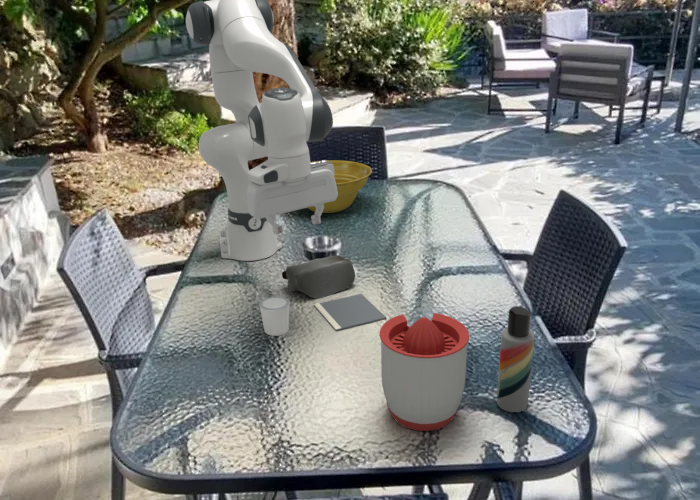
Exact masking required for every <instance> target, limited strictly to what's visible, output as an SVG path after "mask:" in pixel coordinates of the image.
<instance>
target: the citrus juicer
mask: <svg viewBox="0 0 700 500" xmlns="http://www.w3.org/2000/svg"><path fill="white" fill-rule="evenodd" d="M379 338H380V343H381V344H380V347H381V348H380V350H381V351H380V355H381V356H380V357H381V358H380V359H381V360H380V361H381V367H380V368H381V371H380V373H381V374H380V375H381V385H382V390H383V391H382V392H383V395H384V398H385V400H386V405H387V408H388V410H389V412H390V415H391V416H392V418H393V419H394V420H395V421H396V422H397V423H398V424H399V425H401V426H402V427H405V428H407V429H410V430H413V431H420V432H429V431H436V430H440V429H441V428H445V427H446V426H447V425H448V424H450V423H451V422H452V420H453V419H454V417H455V415H456V413H457V412H458V410H459V408H460V407H459V406H460V404H461V401H462V398H463V395H464V391H465V385H466V378H467V377H466V375H467V359H468V358H467V355H468V343H469V340H470V333H469V330H468V329H467V328H466V326H465V325H464V324H463V323H462V322H461V321H459V320H457V319H456V318H454V317H451V316H449V315H446V314H441V313H436V312H434V313H433V314H432V318H431V319H429V318H428V317H425V316H422V317H421V318H419V319H418V320H416V321H415V322H414V323H413V324H412V325H410V326H409V325H408V320H407V318H406V316H405V315H404V314H399V315H396V316H394V317H391V318H390V319H388V320H387V321H385V322H384V324H383V325H381V327H380V330H379Z"/></svg>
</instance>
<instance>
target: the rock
mask: <svg viewBox="0 0 700 500" xmlns="http://www.w3.org/2000/svg"><path fill="white" fill-rule="evenodd" d="M281 277H282V278H283V279H284V280H287V289H288V290H289V291H293V292H301V293H303V294H305V295H307V296H308V297H310V298H312V299H323V298H326V297H328V296H330V295H331V296H332V295H333V294H335V293H338V292H341V291H344V290H347V289H349V288H350V287H351V286H352V284H353V283H354V282H355V278H356V272H355V268H354V264H353V262H352V261H351V259H350V258H345V257H343V256H342V255H330V256H327V257H322V258H315V259H311V260H310V261H307V262H304V263H299V264H294V265H290V266H289V265H288V266H287V267H286V268H285V270H283V271H282V273H281Z"/></svg>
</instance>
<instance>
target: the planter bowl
mask: <svg viewBox="0 0 700 500" xmlns="http://www.w3.org/2000/svg"><path fill="white" fill-rule="evenodd" d="M326 160H327V159H326ZM319 161H320V160H317V161H316V160H314V161H310V163H312V162H319ZM327 161H329V162H331V163H332V164H333V165H334V172H335V173H334V178H335V182H336V186H337V191H338V196H337V198H336V200H335V201H332V202H327V203H324V210H323V212H322V214H330V213H331V214H333V213H338V212H339V213H340V212H342V211H344V210H346V209H348V208H349V207H350V206H351V205H352V204H353V203H354V201H355V200H356V197H357V195H358V193H359V191H361V189H362V188H363V187H365V186H366V184H367V182H368V179H369V176H370V175H371V174H373V169H372V167H370V166H369V165H367V164H364V163H361V162H357V161H351V160H338V159H337V160H336V159H334V160H327ZM328 164H329V163H328ZM306 209H309V210H310V211H311V212H314V213H315V211H316V207H314V206H311V207H307V208H306Z"/></svg>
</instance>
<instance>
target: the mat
mask: <svg viewBox="0 0 700 500" xmlns="http://www.w3.org/2000/svg"><path fill="white" fill-rule="evenodd" d="M313 307H314V308H315V309H316V311H318V312H319V314H320V315H321V316H322V317H323V318H324V319H325V321H326V322H327V323H328V324H329V325H330V326H331V328H333V330H334V331H335V332H339V331H343V330H346V329H350V328H354V327H355V328H356V327H358V326H362V325H367V324H370V323H375V322H378V321H379V322H380V321H384V320H386V319H387V316H386V315H385V314H383V312H381V311H380V310H379V309H378V308H377V307H376V306H375V305H374V304H373V303H372V302H371V301H370V300H369V299H368V298H366V297H365V296H364V295H363V294H362V293H359V294H354V295H351V296H346V297H342V298H337V299H331V300H328V301H325V302H324V301H323V302H317V303H314V304H313Z"/></svg>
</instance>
